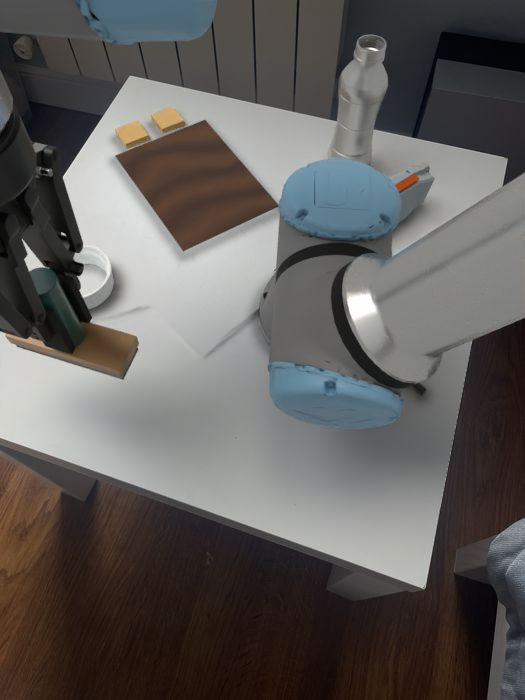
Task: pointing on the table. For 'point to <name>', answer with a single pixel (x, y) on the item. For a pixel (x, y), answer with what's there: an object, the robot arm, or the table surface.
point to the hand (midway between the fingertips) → (69, 331)
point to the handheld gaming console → (412, 187)
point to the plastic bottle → (360, 101)
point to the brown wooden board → (195, 184)
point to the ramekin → (102, 260)
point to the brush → (80, 333)
